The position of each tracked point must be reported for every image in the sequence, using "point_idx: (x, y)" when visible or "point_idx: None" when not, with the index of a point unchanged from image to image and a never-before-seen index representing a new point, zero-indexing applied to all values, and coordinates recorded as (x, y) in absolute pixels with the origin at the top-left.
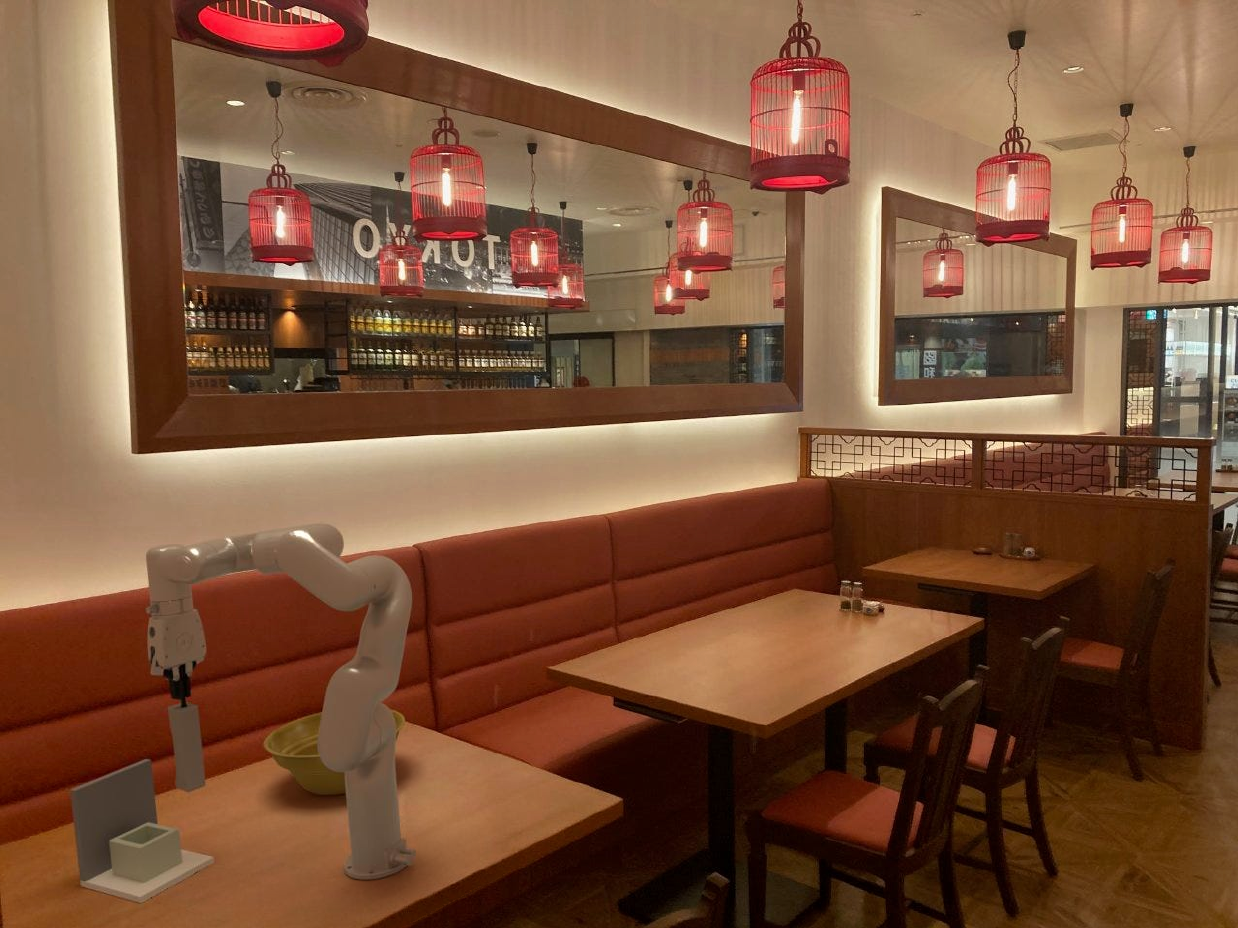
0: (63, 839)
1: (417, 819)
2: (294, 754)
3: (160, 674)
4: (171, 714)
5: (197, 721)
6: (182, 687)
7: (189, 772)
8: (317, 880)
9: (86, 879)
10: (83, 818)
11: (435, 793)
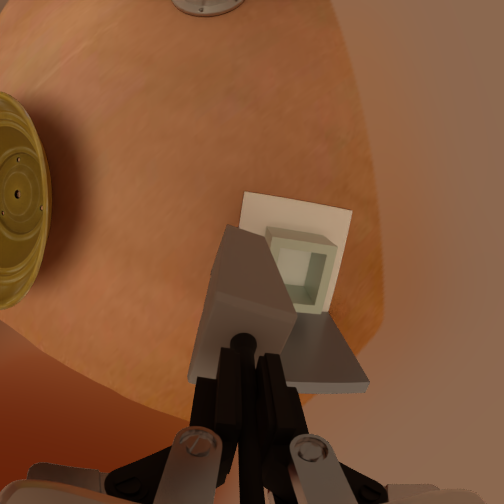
0: None
1: (97, 18)
2: (11, 267)
3: (403, 487)
4: None
5: (226, 271)
6: (273, 390)
7: (260, 243)
8: (259, 26)
9: (327, 312)
10: (346, 353)
11: (36, 52)
